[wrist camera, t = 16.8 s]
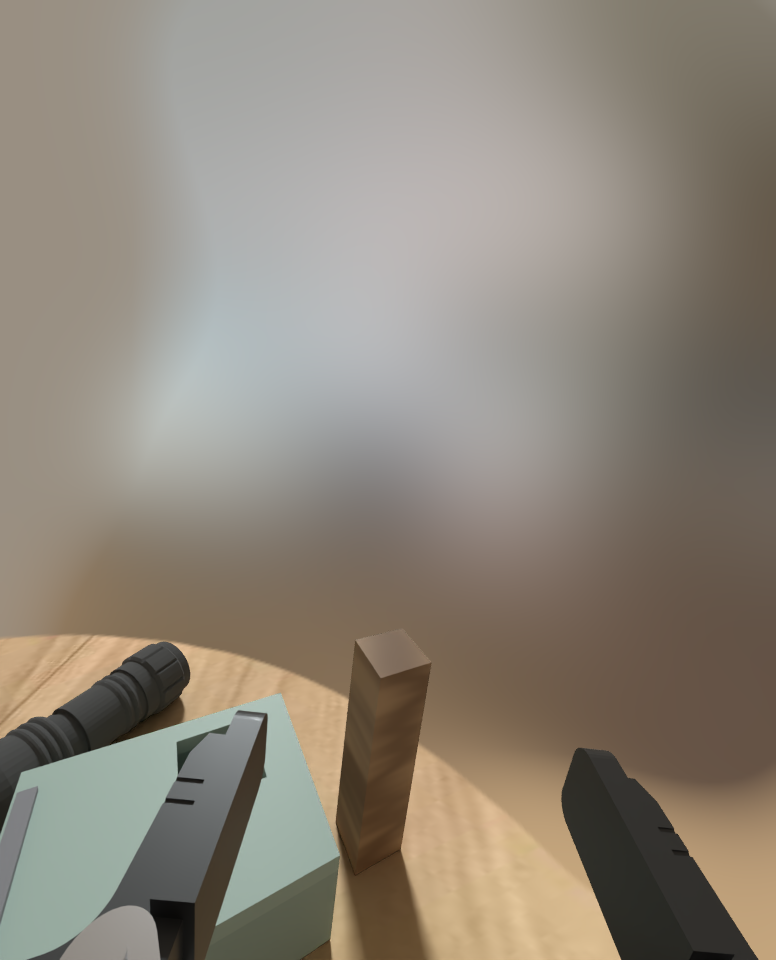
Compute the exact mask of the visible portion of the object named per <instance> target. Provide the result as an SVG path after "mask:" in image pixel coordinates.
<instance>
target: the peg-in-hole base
mask: <svg viewBox="0 0 776 960" xmlns="http://www.w3.org/2000/svg"><path fill="white" fill-rule="evenodd" d="M238 710H242V711H251V712H260V713H267V714H268V724H267V739H266V755H265V764H264V770H263V775H262V779H261V783H260V787H259V790H258V793H257V797H256V800H255V803H254V806H253V809H252V812H251V816H250V819H249V822H248V825H247V828H246V831H245V834H244V838H243V841H242V844H241V847H240V850H239V853H238V856H237V860H236V863H235V866H234V869H233V872H232V875H231V879H230V882H229V885H228V888H227V891H226V894H225V897H224V901H223V904H222V907H221V910H220V913H219V916H218V920H217V923H216V926H215V929H214V932H213V935H212V938H211V942H210V945H209V948H208V951H207V954H206V957H205V960H300V959H302V958H303V957H305V956H306V955H308V954H309V953H310V952H312V951H313V950H315V949H316V948H318V947H319V946H321V945H322V944H324V943H325V942H327V941H328V940H329V939H330V937H331V928H332V919H333V911H334V902H335V894H336V885H337V876H338V868H339V859H340V854H339V851H338V849H337V846H336V843H335V840H334V838H333V835H332V832H331V829H330V827H329V824H328V821H327V818H326V816H325V813H324V810H323V807H322V805H321V802H320V799H319V796H318V794H317V791H316V788H315V785H314V783H313V780H312V777H311V774H310V772H309V769H308V766H307V763H306V761H305V758H304V755H303V752H302V750H301V747H300V744H299V742H298V739H297V736H296V733H295V731H294V728H293V725H292V722H291V720H290V717H289V714H288V711H287V709H286V706H285V703H284V700H283V698H282V695H281V693H279V694H275V695H272V696H269V697H266V698H262V699H259V700H256V701H253V702H249V703H246V704H243V705H240V706H236V707H233V708H230V709H227V710H223V711H220V712H217V713H213V714H210V715H207V716H204V717H200V718H197V719H194V720H191V721H187V722H184V723H181V724H178V725H174V726H171V727H168V728H165V729H161V730H158V731H155V732H152V733H148V734H145V735H142V736H139V737H135V738H132V739H129V740H125V741H122V742H119V743H116V744H112V745H109V746H106V747H103V748H99V749H96V750H93V751H90V752H86V753H83V754H80V755H77V756H73V757H70V758H67V759H64V760H60V761H57V762H54V763H50V764H47V765H44V766H41V767H37V768H34V769H31V770H28V771H24V772H21V775H20V778H19V781H18V784H17V787H16V790H15V793H14V796H13V799H12V802H11V804H10V807H9V810H8V813H7V816H6V819H5V822H4V825H3V828H2V831H1V834H0V960H27V959H30V958H33V957H36V956H39V955H42V954H45V953H47V952H50V951H52V950H54V949H56V948H58V947H60V946H62V945H63V944H65V943H67V942H68V941H69V940H71V939H72V938H74V937H75V936H77V935H78V934H79V933H80V932H81V931H83V930H84V929H85V928H86V927H87V926H88V925H89V924H90V923H91V922H92V921H93V920H94V919H95V918H96V917H97V916H98V915H99V914H100V913H101V911H102V910H103V909H104V908H105V906H106V905H107V904H108V902H109V901H110V900H111V898H112V896H113V895H114V893H115V891H116V890H117V888H118V886H119V884H120V882H121V880H122V879H123V877H124V875H125V873H126V871H127V869H128V867H129V865H130V864H131V862H132V860H133V858H134V856H135V854H136V852H137V850H138V849H139V847H140V845H141V843H142V841H143V839H144V837H145V836H146V834H147V832H148V830H149V828H150V826H151V824H152V822H153V821H154V819H155V817H156V815H157V813H158V811H159V809H160V807H161V806H162V804H163V803H164V802H165V799H166V796H167V794H168V793H169V791H170V789H171V787H172V785H173V783H174V782H175V781H176V779H177V776H178V774H179V772H180V770H181V768H182V766H183V764H184V763H185V761H186V759H187V757H188V755H189V753H190V752H191V751H192V750H193V749H194V748H195V747H196V746H197V745H198V744H199V743H200V742H201V741H202V740H203V739H204V738H205V737H206V736H207V735H208V734H209V733H214V734H224V735H225V734H226V732H227V730H228V728H229V726H230V724H231V721H232V719H233V717H234V715H235V713H236V712H237V711H238Z"/></svg>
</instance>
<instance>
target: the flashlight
mask: <svg viewBox="0 0 776 960" xmlns="http://www.w3.org/2000/svg"><path fill="white" fill-rule="evenodd" d="M189 680H190V669H189V665H188V662H187V660H186V658H185V656H184V655H183V653H182V652H181V651H180V650H179V649H178V648H177V647H176V646H174V645H173V644H171V643H168V642H160V643H157V644H151V645H148V646H147V647H145V648H143V649H142V650H140V651H138V652H137V653H135V654H133V655H132V656H130V657H129V658H127V659H125V660H124V661H123V663H122V665H121V666H120V667H119V668H117V669H116V670H114V671H113V672H111V674H110V675H108V676H105V677H104V678H103V679H102V680H100V681H97V682H96V683H95V684H94V685H93V686H92V687H91V688H90V689H88V690H87V691H85V692H83V693H82V694H80V695H79V696H77V697H76V698H74V699H72V700H71V701H69V702H68V703H66V704H64V705H63V706H61V707H60V708H58V709H56V710H55V711H54V712H53V714H52V715H50V716H49V717H47V718H45V717H34V718H31V719H30V720H29V721H28V722H27V723H24V724H21V725H20V726H19V727H18V728H17V729H15V730H12V731H10V732H9V733H8V734H7V735H6V736H5V737H4V738H1V739H0V834H1V831H2V828H3V825H4V822H5V819H6V816H7V813H8V810H9V807H10V804H11V802H12V799H13V796H14V793H15V790H16V787H17V784H18V781H19V778H20V775H21V772H24V771H28V770H31V769H34V768H37V767H41V766H44V765H47V764H50V763H54V762H57V761H60V760H64V759H67V758H70V757H73V756H77V755H80V754H83V753H86V752H90V751H93V750H96V749H99V748H103V747H106V746H108V745H109V744H110V743H112V742H113V741H114V740H115V739H117V738H118V737H119V736H120V735H124V734H126V733H127V732H129V731H130V729H131V728H133V727H135V726H136V725H137V724H138V722H141V721H143V720H145V719H146V718H147V717H148V716H150V715H151V714H152V715H153V714H157V713H159V712H160V711H162V710H163V709H164V708H165V707H166V706H168V705H169V704H170V703H171V702H173V701H174V700H175V699H176V698H178V697H179V696H180V695H181V694H182V691H183V689H184V688H185V687H186V686H187V685H188V683H189Z"/></svg>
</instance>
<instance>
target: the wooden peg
mask: <svg viewBox="0 0 776 960" xmlns="http://www.w3.org/2000/svg"><path fill="white" fill-rule="evenodd" d="M430 668H431V661H430V660H429V659H428V658H427V657H426V656H425V654H424V653H423V652H422V651H421V650H420V649H419V647H418V646H417V645H416V644H415V643H414V642H413V640H412V639H411V638H410V637H409V636H408V635H407V634H406V632H405V631H404V630H403V629H398V630H394V631H390V632H386V633H381V634H378V635H373V636H369V637H365V638H361V639H357V640H356V641H355V648H354V658H353V666H352V676H351V685H350V694H349V703H348V712H347V722H346V731H345V740H344V749H343V759H342V768H341V777H340V786H339V796H338V805H337V814H336V823H337V826H338V829H339V832H340V834H341V837H342V840H343V843H344V846H345V848H346V851H347V854H348V857H349V860H350V862H351V865H352V868H353V871H354V874H355V875H357V874H358V873H360V872H362V871H364V870H365V869H367V868H369V867H370V866H372V865H374V864H376V863H377V862H379V861H381V860H382V859H384V858H386V857H388V856H389V855H391V854H393V853H395V852H396V851H398V850H400V849H401V844H402V838H403V832H404V826H405V820H406V814H407V808H408V802H409V796H410V790H411V784H412V778H413V772H414V765H415V759H416V753H417V747H418V741H419V735H420V729H421V722H422V716H423V711H424V705H425V699H426V693H427V686H428V681H429V674H430Z"/></svg>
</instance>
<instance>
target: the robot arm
mask: <svg viewBox="0 0 776 960" xmlns="http://www.w3.org/2000/svg"><path fill="white" fill-rule="evenodd" d="M267 724H268V714H267V713H260V712H251V711H242V710H238V711H237V712H236V713H235V715H234V717H233V719H232V721H231V724H230V726H229V728H228V730H227V732H226V734H225V735H224V734H214V733H209V734H208V735H207V736H206V737H205V738H204V739H203V740H202V741H201V742H200V743H199V744H198V745H197V746H196V747H195V748H194V749H193V750H192V751H191V752H190V753H189V755H188V757H187V759H186V761H185V763H184V764H183V766H182V768H181V770H180V772H179V774H178V776H177V779H176V781H175V782H174V783H173V785H172V787H171V789H170V791H169V793H168V794H167V796H166V799H165V802H164V803H163V804H162V806H161V807H160V809H159V811H158V813H157V815H156V817H155V819H154V821H153V822H152V824H151V826H150V828H149V830H148V832H147V834H146V836H145V837H144V839H143V841H142V843H141V845H140V847H139V849H138V850H137V852H136V854H135V856H134V858H133V860H132V862H131V864H130V865H129V867H128V869H127V871H126V873H125V875H124V877H123V879H122V880H121V882H120V884H119V886H118V888H117V890H116V891H115V893H114V895H113V896H112V898H111V900H110V901H109V902H108V904H107V905H106V906H105V908H104V909H103V910H102V911H101V913H100V914H99V915H98V916H97V917H96V918H95V919H94V920H93V921H92V922H91V923H90V924H89V925H88V926H87V927H86V928H85V929H84V930H83V931H81V932H80V933H79V934H78V935H77V936H75V937H74V938H72V939H71V940H69V941H68V942H67V943H65V944H63V945H62V946H60V947H58V948H56V949H54V950H52V951H50V952H47V953H45V954H42V955H39V956H36V957H33V958H30V959H27V960H205V957H206V954H207V951H208V948H209V945H210V942H211V938H212V935H213V932H214V929H215V926H216V923H217V920H218V916H219V913H220V910H221V907H222V904H223V901H224V897H225V894H226V891H227V888H228V885H229V882H230V879H231V875H232V872H233V869H234V866H235V863H236V860H237V856H238V853H239V850H240V847H241V844H242V841H243V838H244V834H245V831H246V828H247V825H248V822H249V819H250V816H251V812H252V809H253V806H254V803H255V800H256V797H257V793H258V790H259V787H260V783H261V779H262V775H263V770H264V764H265V755H266V739H267ZM562 809H563V814H564V818H565V821H566V824H567V826H568V829H569V831H570V833H571V836H572V839H573V841H574V844H575V846H576V849H577V851H578V854H579V856H580V858H581V861H582V863H583V866H584V868H585V871H586V873H587V876H588V878H589V880H590V883H591V886H592V888H593V891H594V893H595V896H596V898H597V901H598V903H599V906H600V908H601V911H602V913H603V916H604V918H605V920H606V923H607V925H608V928H609V930H610V933H611V935H612V938H613V940H614V943H615V945H616V948H617V950H618V953H619V955H620V958H621V960H758V958H757V957H756V955H755V954H754V952H753V951H752V949H751V948H750V946H749V945H748V943H747V942H746V940H745V938H744V937H743V936H742V934H741V932H740V931H739V929H738V928H737V926H736V924H735V923H734V921H733V920H732V918H731V917H730V915H729V914H728V912H727V910H726V909H725V907H724V906H723V904H722V903H721V901H720V900H719V898H718V896H717V895H716V893H715V892H714V890H713V889H712V887H711V885H710V884H709V882H708V881H707V879H706V878H705V876H704V874H703V873H702V871H701V870H700V868H699V867H698V865H697V864H696V862H695V860H694V859H693V857H690V856H689V853H688V850H687V848H686V846H685V845H684V843H683V842H682V840H681V839H680V837H679V835H678V834H675V832H674V828H673V826H672V824H671V823H670V821H669V820H668V818H667V817H666V815H665V814H664V812H663V810H662V809H661V807H660V806H659V804H658V803H657V801H656V800H655V799H654V798H653V797H652V796H651V795H650V794H649V793H648V792H647V791H646V790H645V789H644V788H643V787H642V786H641V785H640V784H639V783H638V782H637V781H636V780H635V779H631V778H627V776H626V774H625V772H624V771H623V769H622V767H621V766H620V764H619V763H618V761H617V759H616V758H615V756H614V755H613V754H612V753H610V752H609V751H604V750H594V749H585V748H578V749H576V751H575V753H574V756H573V759H572V762H571V765H570V768H569V771H568V774H567V777H566V780H565V783H564V786H563V790H562Z"/></svg>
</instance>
